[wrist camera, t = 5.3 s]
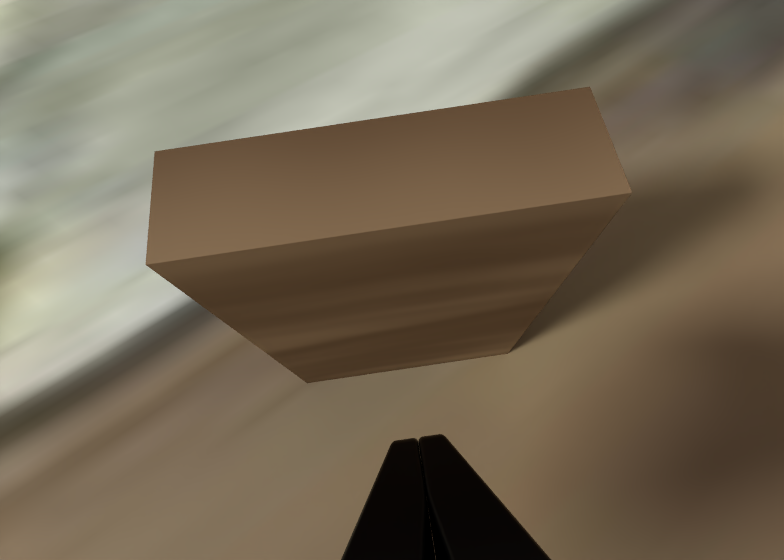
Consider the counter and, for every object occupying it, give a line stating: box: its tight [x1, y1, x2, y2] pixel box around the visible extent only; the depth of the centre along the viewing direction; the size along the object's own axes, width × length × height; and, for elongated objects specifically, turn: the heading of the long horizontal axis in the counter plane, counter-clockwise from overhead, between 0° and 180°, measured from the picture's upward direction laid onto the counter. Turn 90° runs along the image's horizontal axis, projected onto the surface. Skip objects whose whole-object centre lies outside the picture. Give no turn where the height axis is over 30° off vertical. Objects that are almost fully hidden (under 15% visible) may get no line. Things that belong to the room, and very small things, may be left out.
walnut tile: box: [146, 87, 632, 383], centre depth 11 cm, size 2×7×10 cm, turn 99°
